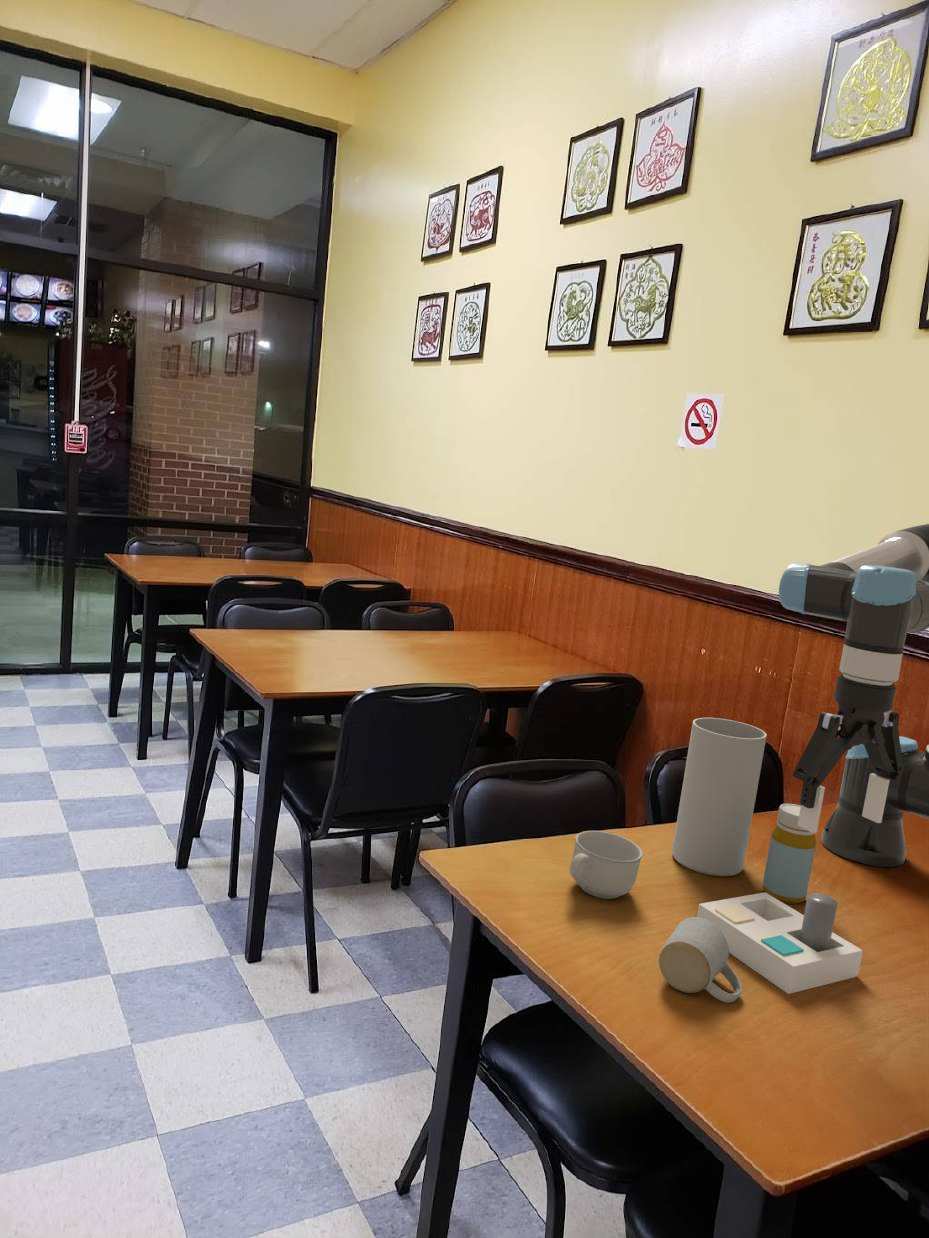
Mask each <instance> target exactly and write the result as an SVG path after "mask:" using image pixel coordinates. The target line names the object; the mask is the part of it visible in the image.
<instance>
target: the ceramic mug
mask: <svg viewBox="0 0 929 1238" xmlns="http://www.w3.org/2000/svg"><path fill="white" fill-rule="evenodd" d="M729 955H730V953H729V947H728V943H727V940H726V938H725V936H724V934H723V933H722V931H721V930H720V929H719V928H718V927H717V926H716V925H715V924H713V923H712V922H710V921H708V920H706V919H704V918H699V917H697V916H693V917H687V918H685V919H683V920H682V921H680V922H679V923H678V924H677V925H676V927H675V929H674V930H673V932H672V933H671V934H670V936H669V937H668V939H667V941H666V942H665V943H664V945H663V946H662V948H661V951H660V953H659V958H658V965H659V966H658V967H659V970H660V972H661V975H662V977H663V978H664V980H665V981H666V983H668V984H669V985H670V987H672V988H674V989H675V990H677V991H679V992H682V993H686V994H695V993H700V992H702V990H706V991H707V992H708V994H710V995H711V996H712V997H714V998H716V999H717V1000H718V1001H720V1002H724V1003H729V1004H730V1003H733V1002H736V1001H737V1000H738V998H739V997H740V996H741V994H742V993H743V983H742V982H741V979H740V978H739V976H738V975H737V973H736V972H735V971H734V969H733V968H732V967H730V965H728V964H727V961H728V960H729ZM719 973H721V975H723V977H725V978H726V980H727V981H728V982H729V984H730V985H731V987H732V989H733V993H728V992H727V991H725V990H723V989H721V987H719V986H718V985H717V984H716V983H714V982H713V981H714V980H715V978H716V977H717V976H718V975H719Z"/></svg>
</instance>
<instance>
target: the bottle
mask: <svg viewBox="0 0 929 1238" xmlns="http://www.w3.org/2000/svg"><path fill="white" fill-rule="evenodd" d="M800 808H801V804H800V805H799V804H795V803H782V804H780V805H779V807H778V812H777V820H776V825H775V826H774V828H773V830H772V831H771V834H770V840H769V847H768V852H767V857H766V863H765V869H764V874H763V878H762V879H763V880H762V886H761V887H762V889H763V892H764V893H765V892H766V893H767V894H769V895H771V896H772V897H774V898H776V899H777V900H779V901H781V902H782V903H784V904H791V905H792V904H793V905H796V904H800V903H802V902H804V901H805V899H807V896H808V889H809V886H810V885H809V883H810V879H811V873H812V868H813V862H814V857H815V851H816V847H817V839H816V835H815V834H816V833H812V832H810V831H808V830H806V829H804V828H802V827H800V826H798V819H799V814H800Z"/></svg>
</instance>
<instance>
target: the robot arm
mask: <svg viewBox="0 0 929 1238" xmlns="http://www.w3.org/2000/svg"><path fill="white" fill-rule="evenodd" d="M778 599H779V603H780V604H781V605H782V607H783V608H784V609H786V610H790V611H793V612H798V613H801V615H809V616H816V617H820V618H821V617H822V618H826V619H830V620H831V619H833V620H835V621H837V620H838V621H842V622H846V629H845V635H844V639H843V648H842V653H841V659H840V663H839V667H838V670H839V672H841V673H842V674H840V675H838V676H837V677H836V684H835V689H834V694H833V699H834V701H835V702H836V703H837V704H838V710H837V712H836V714H833V713H829V712H826V711H821V712H820V714H819V717H818V719H817V720H818V721H817V724H816V725H817V726H816V728H815V730H814V731H813V734H812V736H811V737H810V740H809V741H808V743H807V745H806V747H805V749H804V751H803V753H802V755H801V757H800V759H799V761H798V762H797V763H796V764H797V765H796V767H794V768H795V769H793V772H792V777H794V778H795V779H797V780H798V781H799V780H800V781H802V789H801V795H800V800H799V804H800V805H801V808H800V814H799V819H798V826H800V827H802V828H804V829H806V830H808V831H810V832H812V833H815V834H816V833H818V829H819V828H818V827H819V822H820V818H821V812H822V806H823V800H824V795H825V789H826V787H825V786H822V785H823V782H824V781H825V780H826V779H827V777H828V776H829V775H830V773H831V771H832V770H833V769H834V767H835V766H836V765H837V763H838V762H839V761H840V759H841V758H842V757H843V755H845V753H846V752H847V754H846V755H845V764H844V770H843V774H842V780H841V785H840V789H839V790H840V791H839V796H838V801H837V805H836V807H835V809H834V811H833V812H832V814H831V815H830V817H829V818H828V821H827V822H826V824H825V826H824V827H823V829H822V834H821V839H820V841H821V844H822V845H823V846H824V847H825V848H826V849H827V850H828V851H831V852H832V853H834V854H836V855H838V856H839V857H842V858H845V859H847V860H850V861H854V862H856V863H861V864H864V865H869V866H874V867H881V868H890V867H891V868H895V867H901V866H902V865H903V864H904V863H905V860H906V856H907V847H906V840H905V839H906V838H905V833H904V825H903V819H904V813H905V812H907V813H908V814H909V813H910V814H912V815H916V816H919V817H921V818H924V819H927V820H929V744H927V745H926V748H925V751H920V750H918V749H919V745H918V742H917V741H916V740H915V739H912V738H909V737H906V736H902V735H901V736H900V733H899V722H900V721H899V720H900V714H899V712H897V711H893V710H892V709H893V706H894V701H895V697H896V692H897V691H896V690H897V687H896V685H895V684H894V683H896V682H897V681H898V680H899V678H900V672H901V667H902V660H903V655H904V649H905V648H904V647H905V643H906V638H907V634H917V633H920V632H924V630H927V629H929V523H925V524H921V525H915V526H911V527H907V528H903V529H900V530H897V531H894V532H893V531H892V532H891V533H889V534H887V535H885V536H884V537H882V539H880V540H879V541H878V543H877V544H875V545H873V546H870V547H868V548H865V549H862V550H860V551H857V552H854V553H851V554H849V555H846V556H843V557H840V558H838V559H836V560H833V561H830V562H828V563H824V564H822V565H815V564H811V563H801V562H800V563H798V562H796V563H795V562H794V563H791V564H789V565H788V566H787V567H786V568H785V570H784V571H783V572H782V575H781V578H780V580H779V587H778Z"/></svg>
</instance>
